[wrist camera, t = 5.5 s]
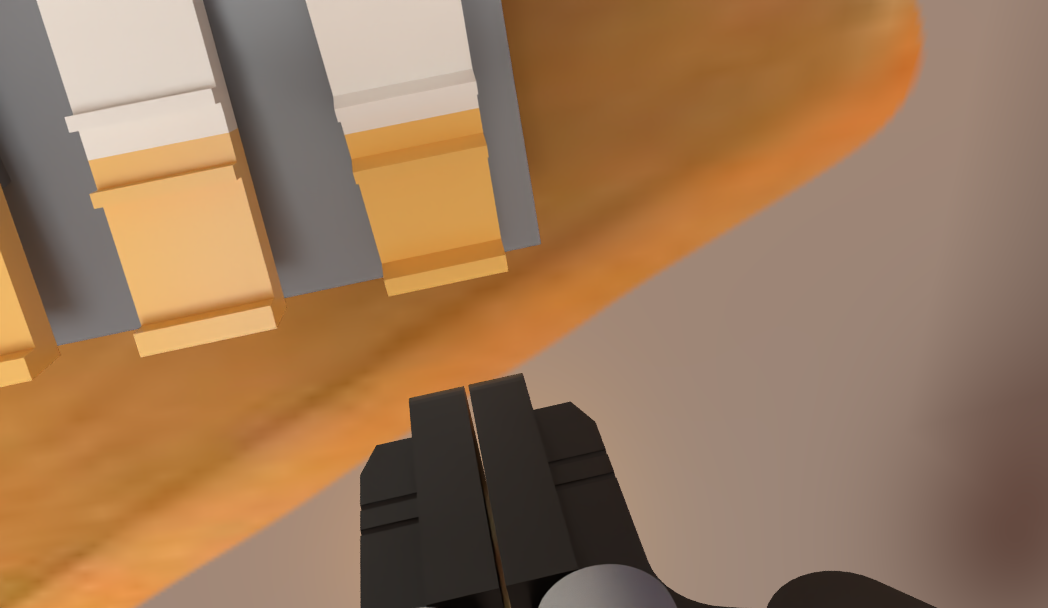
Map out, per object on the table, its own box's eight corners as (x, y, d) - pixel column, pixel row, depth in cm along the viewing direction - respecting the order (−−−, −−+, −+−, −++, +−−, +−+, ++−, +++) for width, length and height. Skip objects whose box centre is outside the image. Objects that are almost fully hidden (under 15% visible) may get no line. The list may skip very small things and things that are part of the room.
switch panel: (-207, -109, 21) (-347, -91, 17) (445, -226, 22) (464, -235, 18) (-9, 293, 26) (-79, 383, 22) (516, 185, 27) (544, 252, 22)
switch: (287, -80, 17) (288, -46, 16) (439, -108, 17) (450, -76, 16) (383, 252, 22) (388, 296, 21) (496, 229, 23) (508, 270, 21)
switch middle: (39, -48, 18) (5, -56, 17) (182, -74, 18) (162, -84, 17) (160, 333, 21) (140, 357, 19) (286, 307, 21) (276, 328, 19)
